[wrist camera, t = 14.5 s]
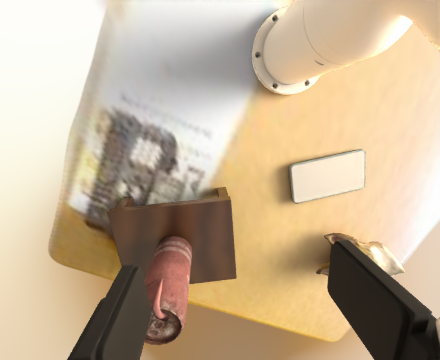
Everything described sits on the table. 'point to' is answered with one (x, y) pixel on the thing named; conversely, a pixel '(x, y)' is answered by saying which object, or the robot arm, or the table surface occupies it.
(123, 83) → the table surface
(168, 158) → the table surface
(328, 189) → the smartphone
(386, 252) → the ceramic sculpture
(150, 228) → the side table
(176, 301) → the can
